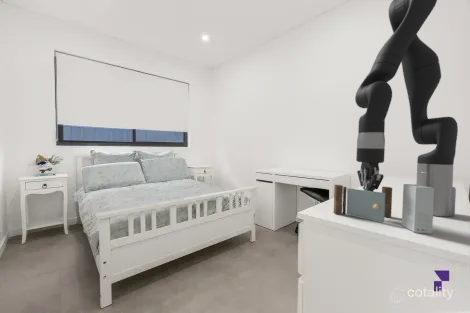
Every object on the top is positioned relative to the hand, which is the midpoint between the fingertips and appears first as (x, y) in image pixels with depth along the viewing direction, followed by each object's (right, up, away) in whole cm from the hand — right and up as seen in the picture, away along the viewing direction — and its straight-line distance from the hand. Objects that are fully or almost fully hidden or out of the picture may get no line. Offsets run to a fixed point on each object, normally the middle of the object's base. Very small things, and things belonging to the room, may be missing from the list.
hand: (368, 201), depth 69 cm
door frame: (-1, -5, +2) cm, 5 cm away
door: (-3, -5, -2) cm, 6 cm away
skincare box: (+6, -6, -11) cm, 14 cm away
